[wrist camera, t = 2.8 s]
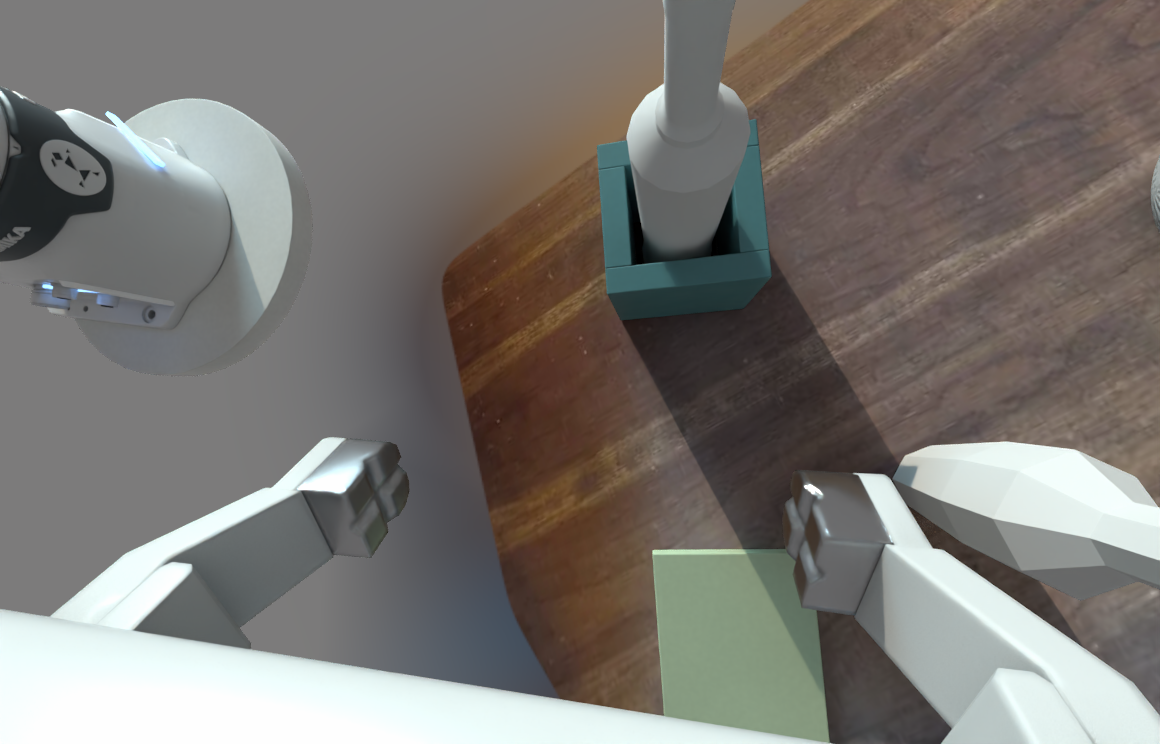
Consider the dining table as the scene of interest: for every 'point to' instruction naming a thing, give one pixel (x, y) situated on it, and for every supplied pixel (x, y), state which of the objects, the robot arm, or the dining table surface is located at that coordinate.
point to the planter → (1156, 195)
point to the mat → (738, 642)
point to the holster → (689, 280)
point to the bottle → (687, 136)
